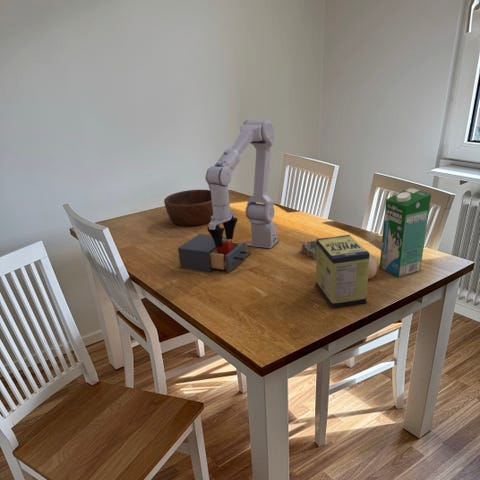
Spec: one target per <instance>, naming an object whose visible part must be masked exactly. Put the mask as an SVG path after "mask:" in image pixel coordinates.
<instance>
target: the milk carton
mask: <svg viewBox="0 0 480 480" xmlns="http://www.w3.org/2000/svg"><path fill="white" fill-rule="evenodd" d="M431 198H432V193H430V192H427V191H424V190H420V189H418V188H414V187H408V188H406V189H405V190H402V191H400V192H398V193H396V194H394V195H392V196H390V197H388V198H387V199H385V207H384V217H383V227H382V238H381V239H382V240H381V248H380V261H379V268H381V270H384V271H386V272H387V273H389V274H392V275H393V276H395V277H397V278H400V277H403V276H406V275H411V274H414V273H417V272H420V271H421V268H422V261H423V253H424V247H425V241H426V240H425V239H426V233H427V226H428V220H429V215H430V214H429V213H430V207H431V206H430V205H431Z"/></svg>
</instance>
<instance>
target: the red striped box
mask: <svg viewBox="0 0 480 480" xmlns="http://www.w3.org/2000/svg"><path fill="white" fill-rule="evenodd" d="M232 242H233V239H229V240H225V239H222V247H217V252H218V254H224V262H225V256H226V255H227V254H228V253H229V252H231V251H232V250H233V244H232Z"/></svg>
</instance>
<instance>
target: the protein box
mask: <svg viewBox="0 0 480 480" xmlns="http://www.w3.org/2000/svg"><path fill="white" fill-rule="evenodd" d="M316 240H317V250H316V259H315V260H316V261H315V272H316V273H315V286H316V287H317V289H318V290H319V292H320V293H321V295H322V296H323V297H324V299H325V300H326V301H327V303H328V304H329V305H330V307H331V308H332V309H333V308H334V309H335V308H340V307H345V306H353V305H360V304H361V305H362V304H366V303H367V295H368V283H369V282H368V280H369V279H368V269H369V255H371V254H370V252H369V251H368V250H367V249H366V248H365V247H364V246H363V245H361V244H360V243H359V241H357V240H356V239H354V237H353V236H351V235H350V234H344V235H337V236H328V237H321V238H316Z"/></svg>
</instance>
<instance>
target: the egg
mask: <svg viewBox="0 0 480 480" xmlns="http://www.w3.org/2000/svg"><path fill="white" fill-rule="evenodd" d="M377 271H378V262H377V260H376V258H375V256H374V255H372V254H370V255H369V269H368V280H370V279H372V278H373V277H375V275H376V274H377Z"/></svg>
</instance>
